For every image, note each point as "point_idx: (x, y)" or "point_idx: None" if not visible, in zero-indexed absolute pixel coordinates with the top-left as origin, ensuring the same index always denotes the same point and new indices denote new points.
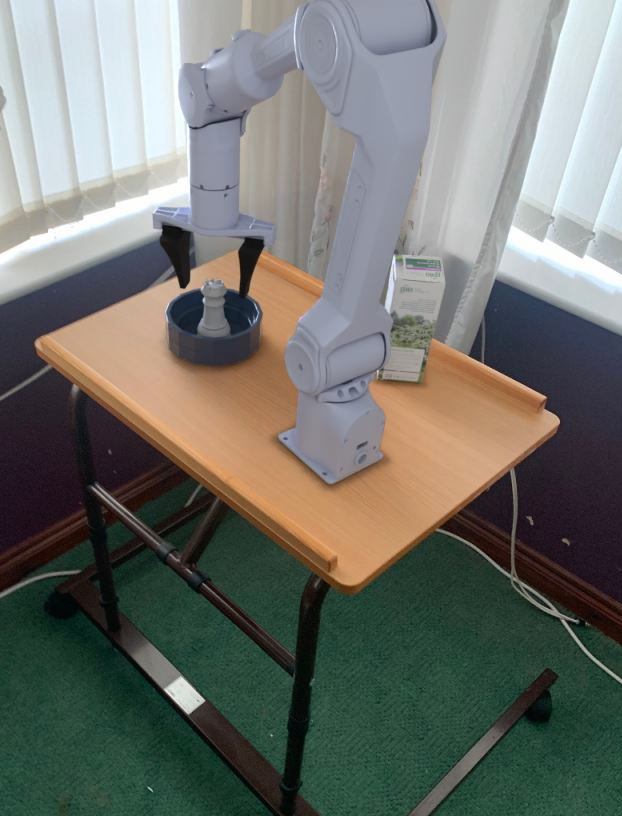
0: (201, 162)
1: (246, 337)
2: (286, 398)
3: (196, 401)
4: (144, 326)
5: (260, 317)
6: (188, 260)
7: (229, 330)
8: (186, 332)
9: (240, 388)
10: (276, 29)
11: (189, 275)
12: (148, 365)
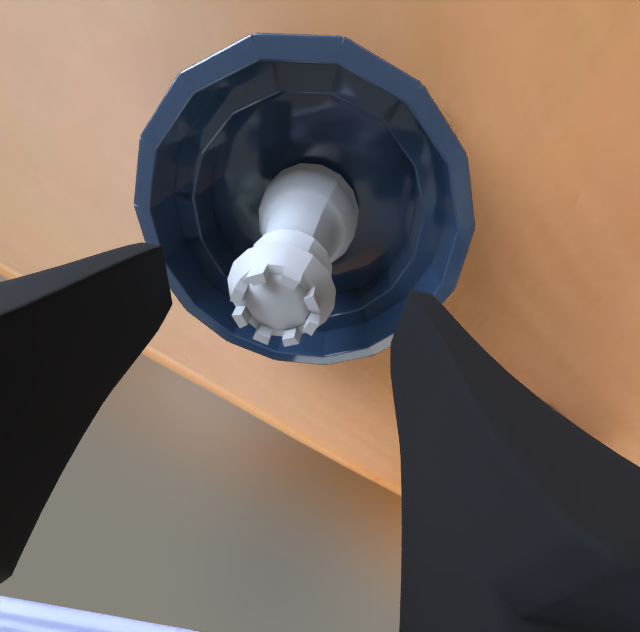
0: None
1: None
2: None
3: (313, 382)
4: (105, 152)
5: (461, 261)
6: (91, 298)
7: (354, 230)
8: (248, 344)
9: (388, 352)
10: None
11: (147, 265)
12: None
